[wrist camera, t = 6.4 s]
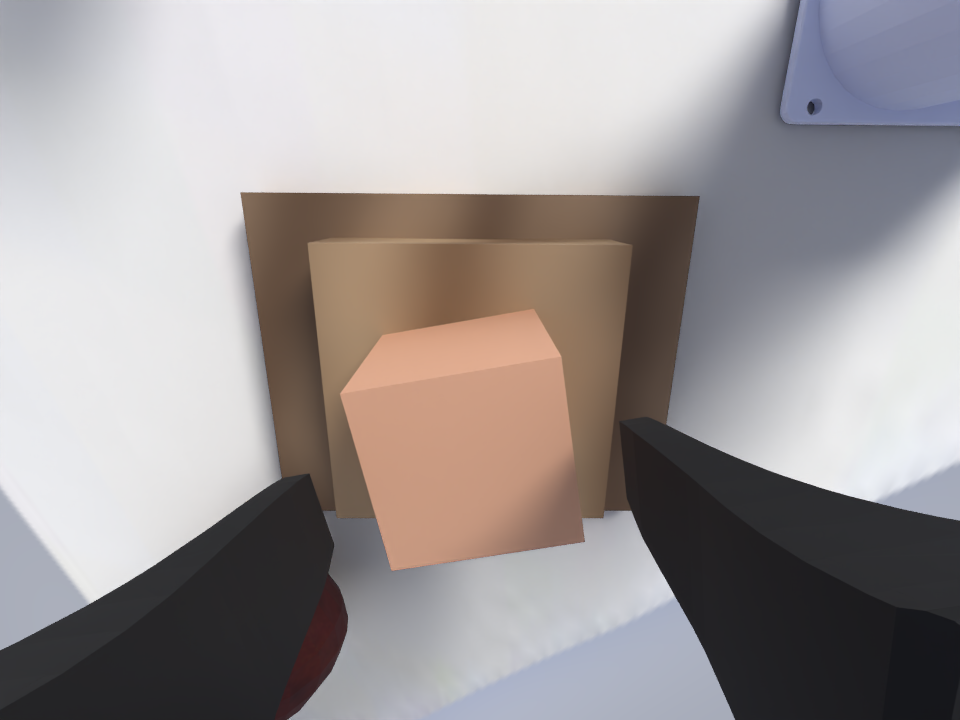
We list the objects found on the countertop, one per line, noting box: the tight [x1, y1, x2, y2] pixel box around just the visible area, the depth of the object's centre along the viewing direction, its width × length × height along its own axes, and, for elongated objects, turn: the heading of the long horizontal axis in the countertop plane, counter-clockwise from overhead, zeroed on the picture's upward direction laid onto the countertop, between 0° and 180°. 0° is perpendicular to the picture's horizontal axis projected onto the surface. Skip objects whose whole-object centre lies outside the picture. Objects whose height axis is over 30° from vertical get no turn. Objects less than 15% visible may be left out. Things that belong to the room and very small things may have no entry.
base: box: [241, 192, 700, 518], centre depth 18 cm, size 16×13×4 cm
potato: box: [275, 574, 348, 720], centre depth 20 cm, size 7×8×7 cm
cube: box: [340, 309, 585, 571], centre depth 13 cm, size 5×5×5 cm
